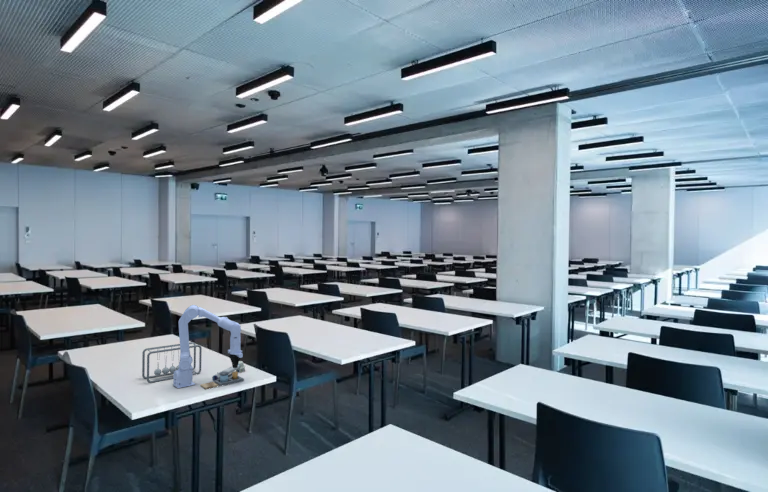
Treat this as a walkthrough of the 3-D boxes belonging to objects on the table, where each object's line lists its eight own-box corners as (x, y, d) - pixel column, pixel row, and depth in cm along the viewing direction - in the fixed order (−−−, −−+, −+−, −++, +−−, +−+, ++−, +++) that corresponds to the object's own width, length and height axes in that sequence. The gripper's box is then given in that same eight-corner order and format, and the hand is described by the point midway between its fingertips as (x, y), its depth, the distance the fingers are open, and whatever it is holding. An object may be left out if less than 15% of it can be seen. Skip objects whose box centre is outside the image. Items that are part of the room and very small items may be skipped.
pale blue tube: (210, 374, 256) (239, 358, 279) (211, 385, 257) (240, 368, 280) (218, 375, 254) (246, 359, 277) (219, 386, 255) (247, 369, 278)
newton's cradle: (147, 384, 249) (147, 352, 249) (141, 379, 257) (142, 348, 256) (201, 373, 269) (201, 344, 269) (195, 369, 277) (195, 341, 277)
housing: (220, 386, 247) (220, 383, 247) (214, 382, 252) (214, 380, 252) (243, 381, 257) (243, 378, 257) (237, 377, 262) (237, 375, 262)
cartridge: (221, 385, 249) (221, 374, 249) (218, 383, 252) (218, 372, 252) (229, 383, 252) (230, 372, 252) (226, 381, 256) (226, 370, 256)
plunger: (233, 379, 255) (233, 373, 255) (231, 377, 257) (231, 372, 257) (238, 378, 257) (238, 372, 257) (236, 376, 259) (236, 371, 259)
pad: (205, 389, 242) (205, 387, 242) (200, 386, 246) (200, 384, 246) (218, 386, 246) (218, 384, 246) (212, 383, 251) (212, 381, 251)
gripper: (247, 345, 254) (247, 369, 255) (236, 340, 265) (235, 363, 265) (236, 347, 249) (235, 371, 250) (224, 342, 260) (224, 365, 260)
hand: (235, 367), depth 257 cm, fingers closed
